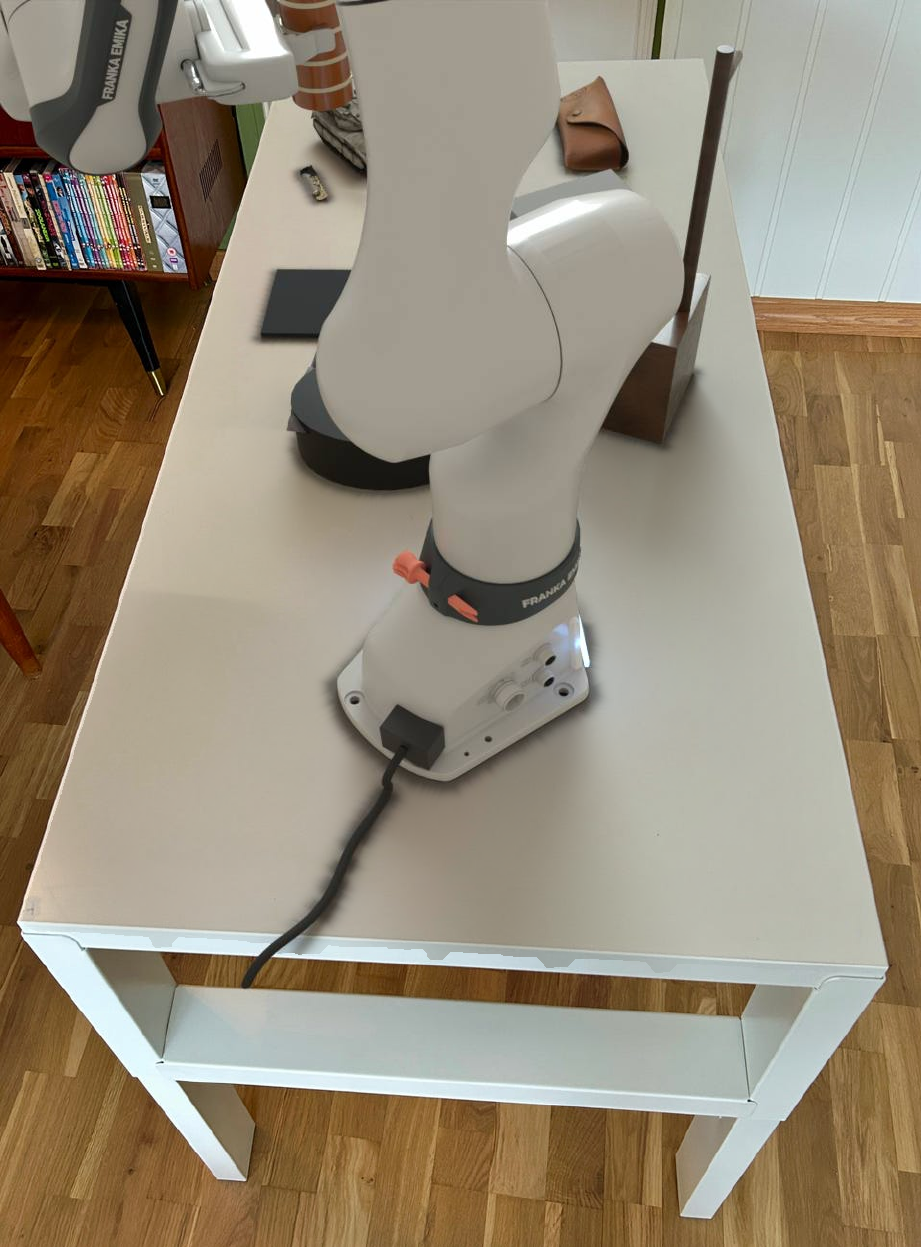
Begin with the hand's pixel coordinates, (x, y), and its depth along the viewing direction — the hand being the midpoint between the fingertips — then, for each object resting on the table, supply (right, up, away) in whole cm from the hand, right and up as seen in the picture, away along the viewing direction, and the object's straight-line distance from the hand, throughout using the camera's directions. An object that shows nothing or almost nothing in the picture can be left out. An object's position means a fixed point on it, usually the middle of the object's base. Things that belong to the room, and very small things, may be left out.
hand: (322, 18), depth 99 cm
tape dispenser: (+5, -37, +11) cm, 39 cm away
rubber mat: (-3, -19, +25) cm, 31 cm away
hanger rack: (+30, -31, +14) cm, 46 cm away
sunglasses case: (+30, +10, +46) cm, 56 cm away
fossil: (-9, +1, +41) cm, 42 cm away
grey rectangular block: (+20, -10, +28) cm, 36 cm away
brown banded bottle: (-1, -4, +5) cm, 7 cm away
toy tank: (0, +7, +44) cm, 45 cm away
